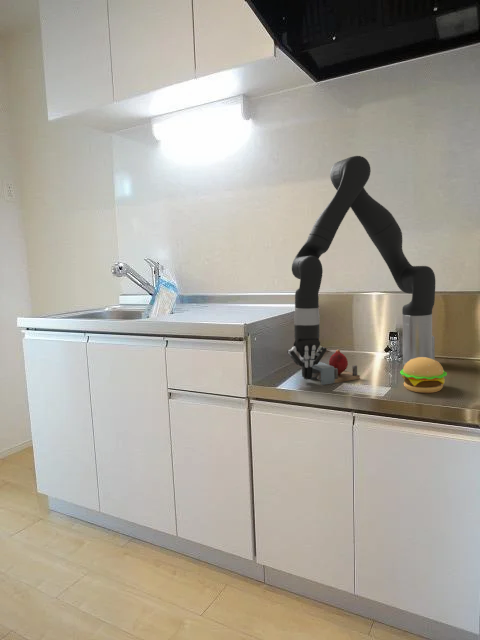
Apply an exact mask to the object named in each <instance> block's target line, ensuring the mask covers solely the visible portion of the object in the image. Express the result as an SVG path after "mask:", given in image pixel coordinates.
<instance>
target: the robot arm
mask: <svg viewBox="0 0 480 640" xmlns="http://www.w3.org/2000/svg"><path fill="white" fill-rule="evenodd" d="M329 174H330V175H329V178H330V181H331V184H332V185H333V187H334V189H335V190H336V191H335V194H334V196H333V197H332V198H331V200H330V201H329V203H328V204H327V205H326V206H325V208H324V209H323V210H322V212H321V213H320V214H319V216H318V217H317V219H316V221H315V222H314V223H313V227H312V228H311V230H310V233H309V235H308V236H307V239H306V241H305V242H304V244H303V245H302V246H301V248H300V249H299V250H298V252H297V254H296V255H295V257H294V259H293V261H292V264H291V272H292V275H293V276H294V277H295V278H296V279H297V280H298V279H299V287H298V288H297V289H296V290H295V293H294V314H293V315H294V318H293V319H294V320H293V321H294V322H293V323H294V325H293V327H294V331H293V332H294V342H293V346H292V347H291V348H290V349H287V351H286V352H287V354H288V355H289V357H290V358H291V359H292V361H293V362H294V363H295V365H297V366H299V367H301V377H302V378H303V379H304V380H312V379H311V377H312V367H313V366H314V365H317V364H318V363H319V362H321V361H322V358H323V356H324V355H325V354H326V352H327V349H328V348H327V347H324V346H322V345H321V341H320V340H319V339H320V321H321V320H320V319H321V318H320V309H319V308H320V306H319V303H320V302H319V292H320V289H321V283H322V281H323V280H322V279H323V271H324V270H323V265H322V262H321V260H320V257H321V256H322V255H323V254H325V253H326V252H328V250H329V248H330V246H331V245H332V243H333V241H334V238H335V236H336V234H337V232H338V230H339V227H340V226H341V224H342V222H343V220H344V218H345V217H346V215H347V214H348V212H349V210H350V209H351V211H352V213H354V215H355V216H356V218H357V220H358V221H359V222H360V224H361V225H362V227H363V228H364V231H365V232H366V234H367V235H368V237H369V239H370V241H371V242H372V244H373V245H374V246H375V247H376V249H377V251H378V252H379V254H380V256H381V257H382V259H383V260H384V263H386V265H387V267H388V269H389V271H390V273H391V275H392V278H393V280H394V281H395V284H396V285H397V287H398V289H399V290H400V291H402V292H403V293H405V294H411V301H410V302H409V303H407V304H405V305H403V306H402V309H401V311H402V365H403V366H404V365H405V364H406V363H407V362H408V361H409V360H411V359H414V358H418V357H427V358H430V359H433V360H436V359H435V352H436V351H435V349H436V348H435V336H434V335H433V308H434V307H435V306H434V305H435V303H436V302H435V301H436V300H435V298H436V275H435V272H434V270H433V269H432V268H431V267H430V266H427V265H412V264H411V263H410V261H409V260H408V259H407V257H406V255H405V253H404V251H403V232H402V229H401V228H400V226H399V223H398V222H397V220H396V219H395V217H394V216H393V214H392V213H391V211H389V210H388V209H387V208H386V207H385V206H383V205H382V204H381V203H380V202H378V201H377V200H375V199H374V198H373V197H372V196H371V195H370V194H369V193H368V192H367V190H366V189H365V186H366V184H367V182H368V181H369V179H370V176H371V164H370V162H369V161H368V160H367V159H366V157H364V156H361V155H355V156H350V157H347V158H344V159H341V160H339V161H337V162H335V163H334V164H333V165H332V167H331V169H330V173H329ZM297 353H298V355H299V356H298V355H297Z"/></svg>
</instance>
